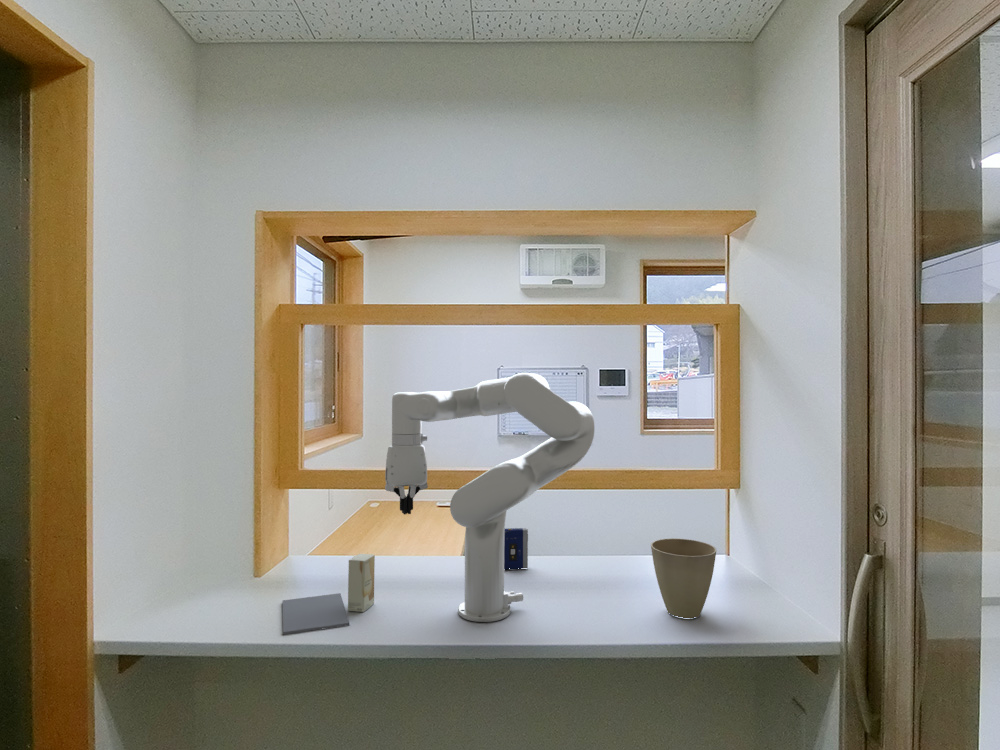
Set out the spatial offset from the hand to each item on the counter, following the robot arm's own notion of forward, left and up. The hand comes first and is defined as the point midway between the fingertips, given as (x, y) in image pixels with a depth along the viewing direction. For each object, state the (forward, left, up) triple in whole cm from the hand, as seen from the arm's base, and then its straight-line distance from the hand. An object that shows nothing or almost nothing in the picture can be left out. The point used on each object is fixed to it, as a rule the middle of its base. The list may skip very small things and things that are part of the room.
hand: (406, 513), depth 143 cm
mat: (+22, 0, -22) cm, 31 cm away
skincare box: (+11, 0, -22) cm, 25 cm away
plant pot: (-60, +32, -22) cm, 72 cm away
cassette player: (-36, -14, -22) cm, 45 cm away
